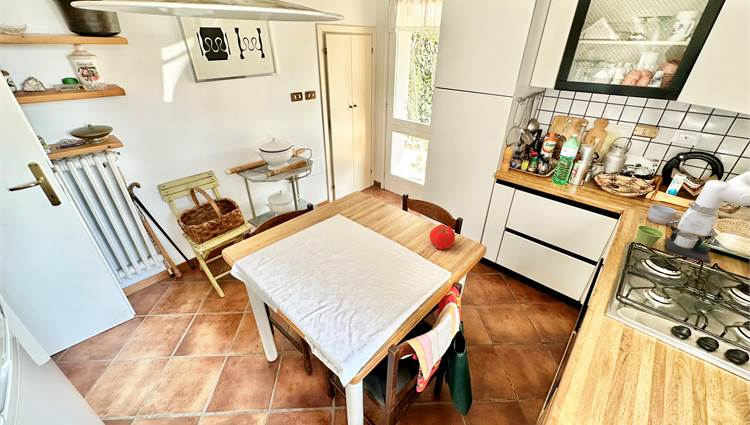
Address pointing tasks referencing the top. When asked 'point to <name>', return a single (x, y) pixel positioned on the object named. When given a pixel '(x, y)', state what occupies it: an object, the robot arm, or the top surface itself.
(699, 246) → the tare button
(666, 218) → the teacup
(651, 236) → the plant pot
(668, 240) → the scale
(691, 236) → the bowl
